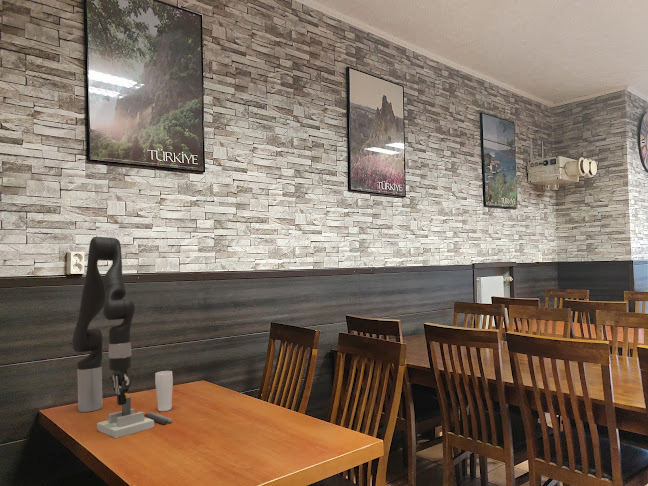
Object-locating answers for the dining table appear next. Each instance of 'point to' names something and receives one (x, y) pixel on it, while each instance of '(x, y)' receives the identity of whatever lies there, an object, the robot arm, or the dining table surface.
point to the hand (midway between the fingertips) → (120, 404)
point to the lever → (126, 405)
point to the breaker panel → (125, 429)
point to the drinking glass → (164, 390)
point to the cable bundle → (158, 418)
